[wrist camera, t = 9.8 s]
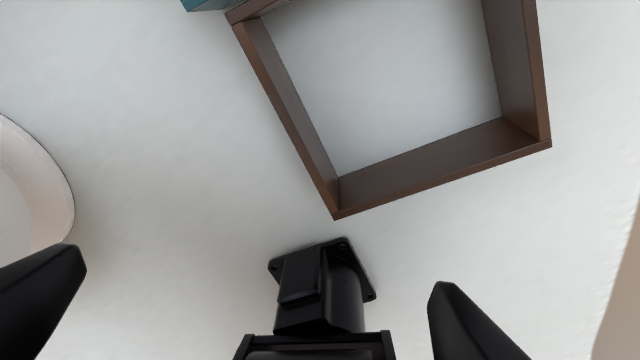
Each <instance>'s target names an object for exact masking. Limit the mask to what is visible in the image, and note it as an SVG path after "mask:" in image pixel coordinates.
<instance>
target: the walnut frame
mask: <svg viewBox="0 0 640 360" xmlns="http://www.w3.org/2000/svg"><path fill="white" fill-rule="evenodd" d="M289 1H291V0H248V1H246V2H244V3H243V4H241V5H239V6H237V7H235V8H234V9H232V10H230V11H228V12H226V13H225V16H226V18H227V20H228V22H229V24H230V26H232V30H233V31H234V33H235V35H236V37H237V39H238V41H239V43H240V45H241V47H242V48H243V50H244V52H245V54H246V56H247V58H248V60H249V62H250V63H251V65H252V67H253V69H254V71H255V73H256V75H257V77H258V79H259V80H260V82H261V84H262V86H263V88H264V90H265V92H266V94H267V96H268V97H269V99H270V101H271V103H272V105H273V107H274V109H275V111H276V112H277V114H278V116H279V118H280V120H281V122H282V124H283V126H284V128H285V129H286V131H287V133H288V135H289V137H290V139H291V141H292V143H293V144H294V146H295V148H296V150H297V152H298V154H299V156H300V158H301V160H302V161H303V163H304V165H305V167H306V169H307V171H308V173H309V175H310V176H311V178H312V180H313V182H314V184H315V186H316V188H317V190H318V192H319V193H320V195H321V197H322V199H323V201H324V203H325V205H326V207H327V209H328V210H329V212H330V214H331V216H332V218H333V220H334V221H336V220H339V219H342V218H345V217H348V216H350V215H353V214H356V213H359V212H362V211H365V210H368V209H371V208H374V207H377V206H380V205H383V204H386V203H389V202H392V201H395V200H398V199H401V198H404V197H406V196H409V195H412V194H415V193H418V192H421V191H424V190H427V189H430V188H433V187H436V186H439V185H442V184H445V183H448V182H451V181H454V180H457V179H460V178H462V177H465V176H468V175H471V174H474V173H477V172H480V171H483V170H486V169H489V168H492V167H495V166H498V165H501V164H504V163H507V162H510V161H513V160H515V159H518V158H521V157H524V156H527V155H530V154H533V153H536V152H539V151H542V150H545V149H548V148H551V147H552V140H551V131H550V122H549V114H548V105H547V96H546V87H545V79H544V70H543V61H542V52H541V44H540V35H539V26H538V17H537V9H536V0H481V2H482V8H483V13H484V19H485V24H486V29H487V35H488V40H489V46H490V51H491V56H492V62H493V67H494V73H495V78H496V83H497V89H498V94H499V100H500V105H501V110H502V115H503V116H502V117H499V118H497V119H494V120H491V121H489V122H486V123H483V124H481V125H478V126H475V127H473V128H470V129H467V130H465V131H462V132H459V133H456V134H454V135H451V136H448V137H446V138H443V139H440V140H438V141H435V142H432V143H430V144H427V145H424V146H422V147H419V148H416V149H414V150H411V151H408V152H406V153H403V154H400V155H398V156H395V157H392V158H390V159H387V160H384V161H382V162H379V163H376V164H373V165H371V166H368V167H365V168H363V169H360V170H357V171H355V172H352V173H349V174H347V175H344V176H341V177H339V178H338V176H337V174H336V172H335V170H334V168H333V166H332V164H331V162H330V159H329V157H328V155H327V153H326V151H325V149H324V147H323V145H322V143H321V141H320V139H319V137H318V135H317V133H316V131H315V129H314V126H313V124H312V122H311V120H310V118H309V116H308V114H307V112H306V110H305V108H304V106H303V104H302V102H301V100H300V98H299V96H298V93H297V91H296V89H295V87H294V85H293V83H292V81H291V79H290V77H289V75H288V73H287V71H286V69H285V67H284V65H283V63H282V60H281V58H280V56H279V54H278V52H277V50H276V48H275V46H274V44H273V42H272V40H271V38H270V36H269V34H268V32H267V30H266V27H265V25H264V23H263V21H262V19H261V18H260V17H261V16H263V15H265V14H267V13H268V12H270V11H272V10H274V9H276V8H278V7H280V6H282V5H283V4H285V3H287V2H289Z"/></svg>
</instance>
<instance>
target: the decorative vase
mask: <svg viewBox="0 0 640 360" xmlns="http://www.w3.org/2000/svg"><path fill="white" fill-rule="evenodd" d="M74 217H75V207H74V200H73V196H72V193H71V190H70V187H69V185H68V183H67V181H66V179H65V177H64V175H63V173H62V172H61V170H60V168H59V167H58V165H57V164H56V163H55V161H54V160H53V159H52V157H51V156H50V155H49V154H48V153H47V152H46V150H45V149H44V148H43V147H42V146H41V145H40V144H39V143H38V142H37V141H36V140H35V139H34V138H33V137H31V136H30V135H29V134H28V133H27V132H26V131H24V130H23V129H22V128H21V127H19V126H18V125H17V124H15V123H14V122H12V121H11V120H9V119H8V118H6V117H5V116H3V115H2V114H0V268H2V267H4V266H6V265H8V264H11V263H13V262H15V261H18V260H20V259H22V258H24V257H27V256H29V255H31V254H34V253H36V252H38V251H40V250H43V249H45V248H47V247H50V246H52V245H54V244H57V243H60V242H61V241H62V240H63V239H64V238H65V237H66V236H67V235H68V233H69V232H70V230H71V228H72V225H73V222H74Z"/></svg>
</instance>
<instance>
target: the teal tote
mask: <svg viewBox="0 0 640 360" xmlns="http://www.w3.org/2000/svg"><path fill="white" fill-rule="evenodd" d="M180 1H181V3H182V4H183V6H184V8H185V9H186V11H187V12H195V11H208V10H221V9H223V8H224V7H226V6H228V5H230V4H232V3H233V2H235V1H237V0H180Z"/></svg>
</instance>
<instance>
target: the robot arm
mask: <svg viewBox="0 0 640 360" xmlns="http://www.w3.org/2000/svg"><path fill="white" fill-rule="evenodd" d="M341 244H345V245H343V246H342V245H341ZM274 266H276V267H274ZM268 270H269V272H270V273H271V274H272V276H273V277H274V278H275V280H276V281H277V283H278V284H279V285H280V287H279V292H278V298H277V303H278V307H277V312H276V318H275V323H274V328H273V334H274V335H258V336H255V334H245V335H244V338H243V340H242V342H241V344H240V346H239V347H238V349H237V351H236V353H235V355H234V357H233V360H396V356H395V352H394V347H393V343H392V338H391V334H390V330H380V332H365V321H364V310H363V303H366V302H370V301H373V300H375V299H376V291H375V289H374V287H373V285H372V283H371V281H370V280H369V278H368V276H367V274H366V272H365V270H364V268H363V266H362V264H361V262H360V260H359V258H358V257H357V255H356V253H355V251H354V249H353V247H352V245H351V243H350V241H349V240H348V239H347V238H344V237H342V238H338V239H335V240H332V241H328V242H325V243H322V244H319V245H316V246H313V247H310V248H307V249H304V250H300V251H297V252H294V253H291V254H288V255H285V256H282V257H279V258H276V259H273V260H271V261H270V262H269V264H268ZM86 273H87V268H86V265H85V262H84V259H83V256H82V254H81V251H80V249H79V247H78V246H77V245H75V244H66V243H57V244H54V245H52V246H50V247H47V248H45V249H43V250H40V251H38V252H36V253H34V254H31V255H29V256H27V257H24V258H22V259H20V260H18V261H15V262H13V263H11V264H8V265H6V266H4V267H2V268H0V360H35V358H36V357H37V355H38V354H39V353H40V351H41V350H42V348H43V347H44V346H45V344H46V343H47V341H48V340H49V338H50V337H51V335H52V333H53V332H54V330H55V329H56V327H57V325H58V323H59V322H60V320H61V318H62V317H63V315H64V313H65V311H66V310H67V308H68V306H69V305H70V303H71V301H72V299H73V298H74V296H75V294H76V292H77V291H78V289H79V287H80V286H81V284H82V282H83V280H84V279H85V276H86ZM370 294H371V295H370ZM427 314H428V321H429V328H430V335H431V341H432V348H433V355H434V360H532V359H531V358H530V357H529V356H528V355H527V354H525V353H524V352H523V351H522V350H521V349H520V348H519V347H518V346H517V345H516V344H515V343H514V342H513V341H512V340H511V339H510V338H509V337H508V336H507V335H506V334H505V333H504V332H503V331H502V330H501V329H500V328H499V327H498V326H497V325H496V324H495V323H494V322H493V321H492V320H491V319H490V318H489V317H488V316H487V315H486V314H485V313H484V312H483V311H482V310H481V309H480V308H479V307H478V306H477V305H476V304H475V303H474V302H473V301H472V300H471V299H470V298H469V297H468V296H467V295H466V294H465V293H464V292H463V291H462V290H461V289H460V288H459V287H458V286H457V285H456V284H454V283H452V282H443V281H438V282H436V283H435V285H434V288H433V290H432V293H431V296H430V298H429V301H428V304H427Z"/></svg>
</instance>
